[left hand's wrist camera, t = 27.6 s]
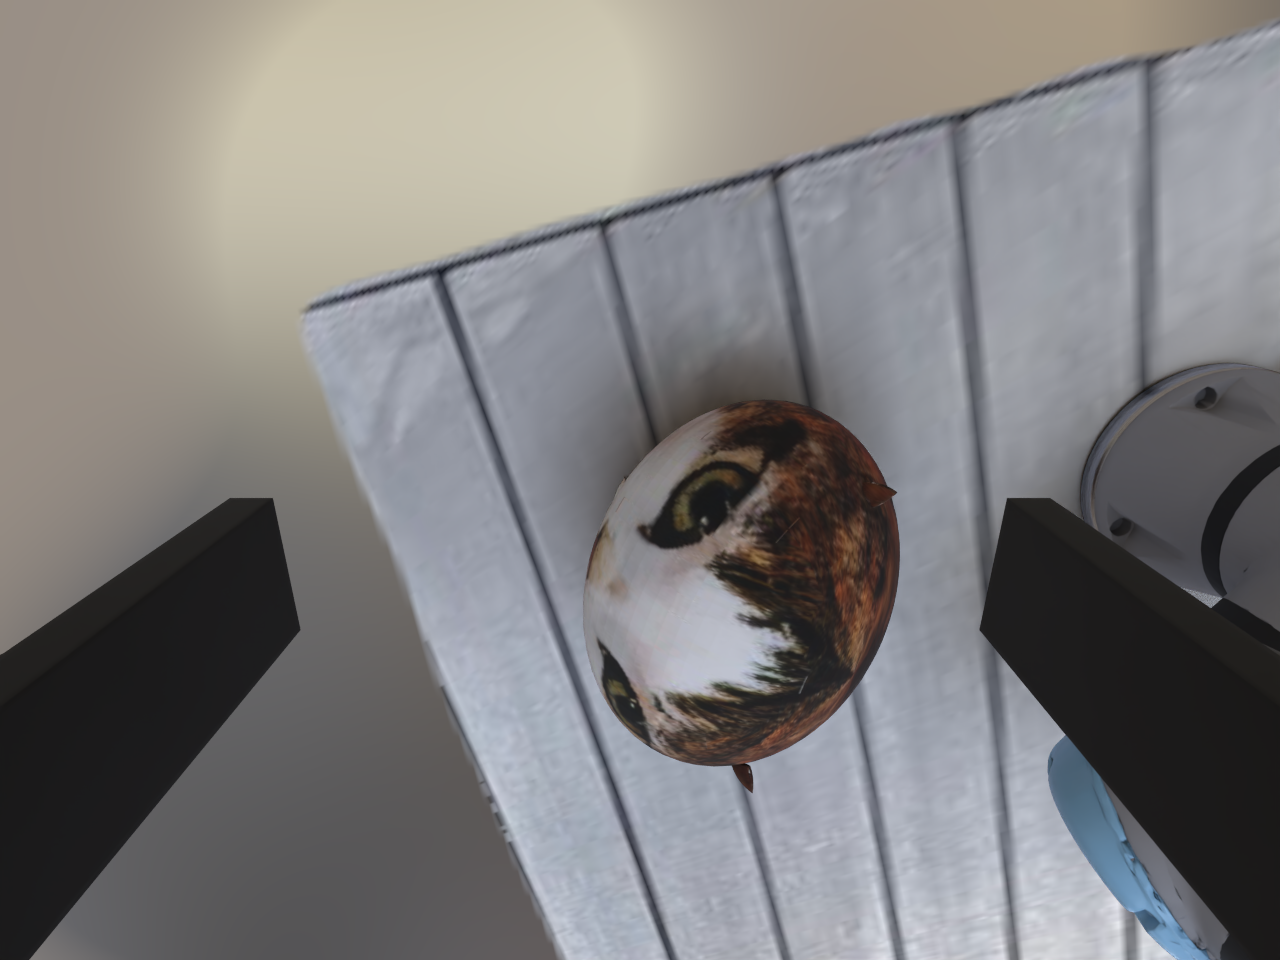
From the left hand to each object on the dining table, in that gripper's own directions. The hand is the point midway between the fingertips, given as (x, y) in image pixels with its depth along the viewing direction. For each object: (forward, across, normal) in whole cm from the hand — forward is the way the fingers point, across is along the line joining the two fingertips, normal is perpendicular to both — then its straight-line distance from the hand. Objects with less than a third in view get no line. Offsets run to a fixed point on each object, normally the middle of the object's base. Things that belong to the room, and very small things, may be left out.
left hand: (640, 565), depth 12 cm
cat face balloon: (+33, +6, -14) cm, 36 cm away
